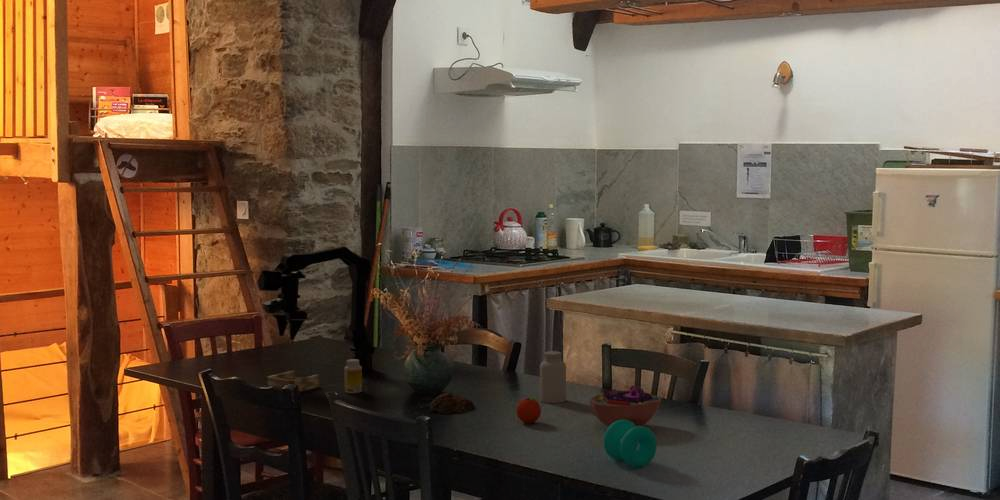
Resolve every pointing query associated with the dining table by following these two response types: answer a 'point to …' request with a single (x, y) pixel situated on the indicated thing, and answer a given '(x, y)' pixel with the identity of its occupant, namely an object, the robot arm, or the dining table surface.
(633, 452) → the green spool
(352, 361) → the supplement bottle
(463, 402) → the bread roll
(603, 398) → the cell model
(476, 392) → the dining table surface
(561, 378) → the pill bottle
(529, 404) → the tomato
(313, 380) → the caddy
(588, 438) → the dining table surface
